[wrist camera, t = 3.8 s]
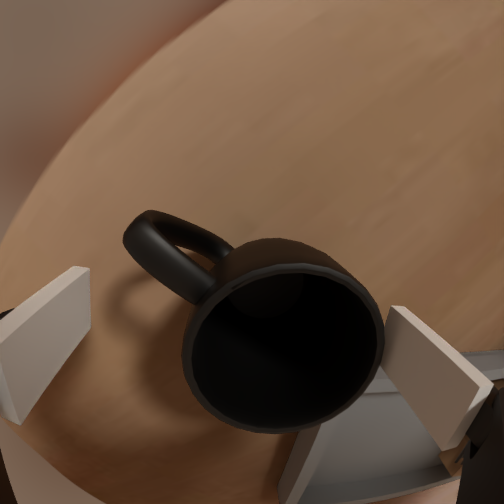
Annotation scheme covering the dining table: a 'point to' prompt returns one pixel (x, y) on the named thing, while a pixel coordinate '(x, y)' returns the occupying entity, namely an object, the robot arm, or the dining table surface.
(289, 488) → the tray
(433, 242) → the dining table surface
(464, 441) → the walnut block
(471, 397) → the robot arm
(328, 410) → the mug
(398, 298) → the dining table surface
